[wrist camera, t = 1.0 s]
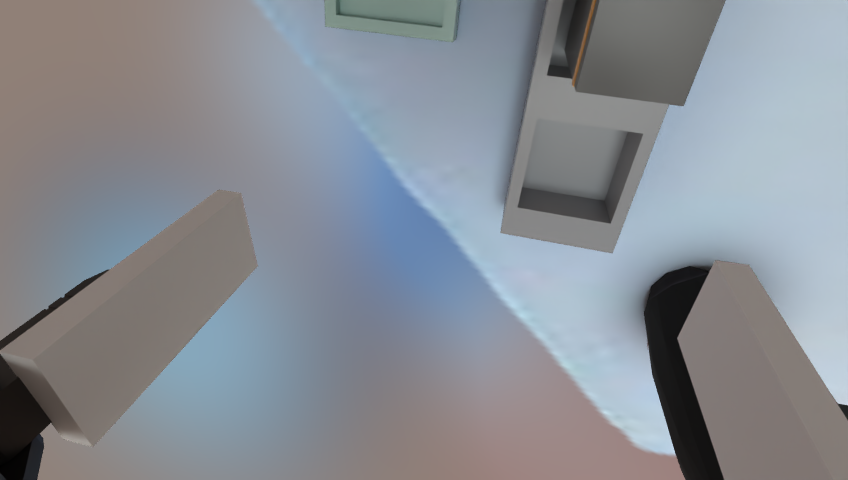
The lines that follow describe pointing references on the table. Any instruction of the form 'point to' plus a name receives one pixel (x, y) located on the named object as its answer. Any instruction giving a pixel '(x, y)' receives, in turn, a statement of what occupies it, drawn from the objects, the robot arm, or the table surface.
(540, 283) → the table surface
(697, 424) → the portable speaker
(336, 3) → the tray
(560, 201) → the socket strip
